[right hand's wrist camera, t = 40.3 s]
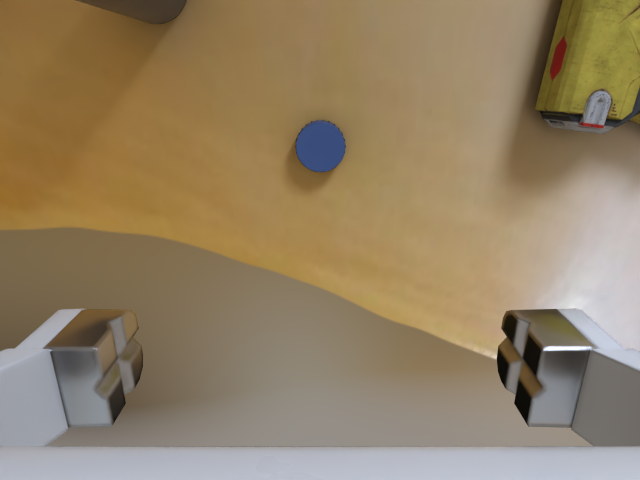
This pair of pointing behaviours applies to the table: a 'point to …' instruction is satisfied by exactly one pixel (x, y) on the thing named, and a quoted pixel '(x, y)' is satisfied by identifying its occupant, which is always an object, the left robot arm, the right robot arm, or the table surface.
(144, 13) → the bottle
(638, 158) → the table surface
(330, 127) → the cap
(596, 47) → the toy gun
